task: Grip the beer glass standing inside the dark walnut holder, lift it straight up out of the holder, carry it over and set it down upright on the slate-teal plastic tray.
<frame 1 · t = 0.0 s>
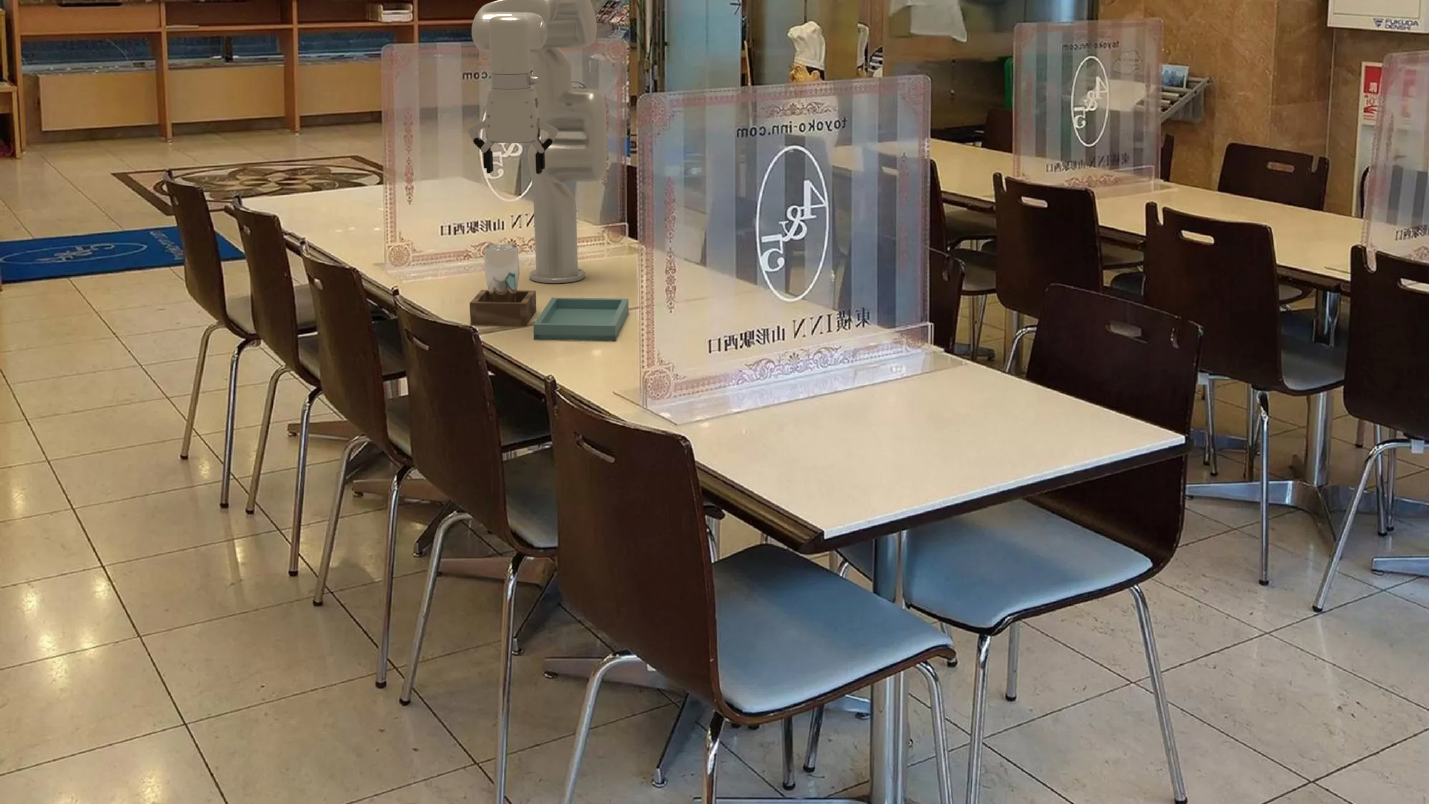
hand: (514, 172, 289), 31 cm above the table, tool pointing down, fingers open, 9 cm apart
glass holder: (504, 318, 306), on the table
tray: (582, 325, 301), on the table
beer glass: (504, 319, 306), resting in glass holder
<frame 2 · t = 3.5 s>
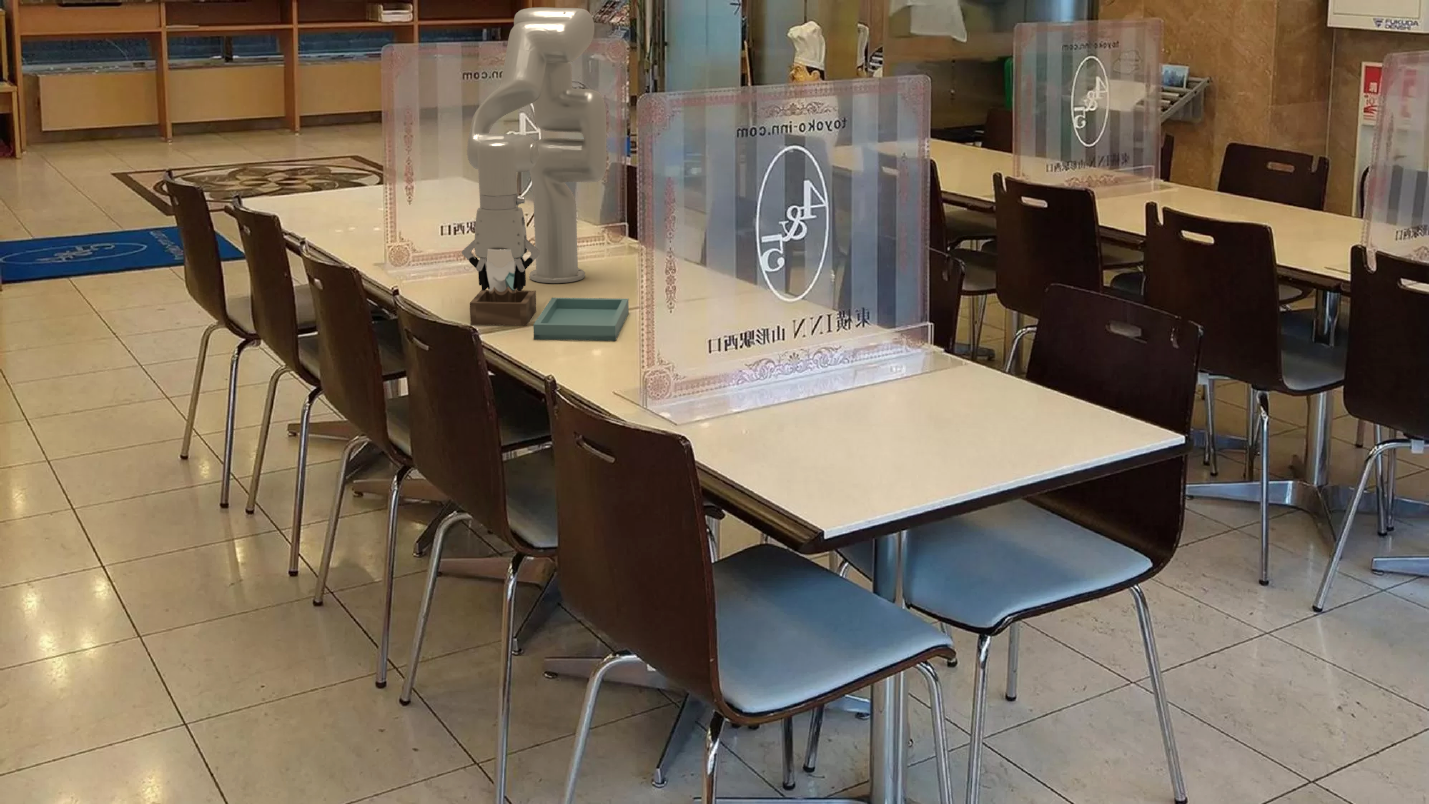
hand: (502, 288, 304), 6 cm above the table, tool pointing down, fingers closed on beer glass, 6 cm apart
beer glass: (504, 319, 306), resting in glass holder, touching gripper
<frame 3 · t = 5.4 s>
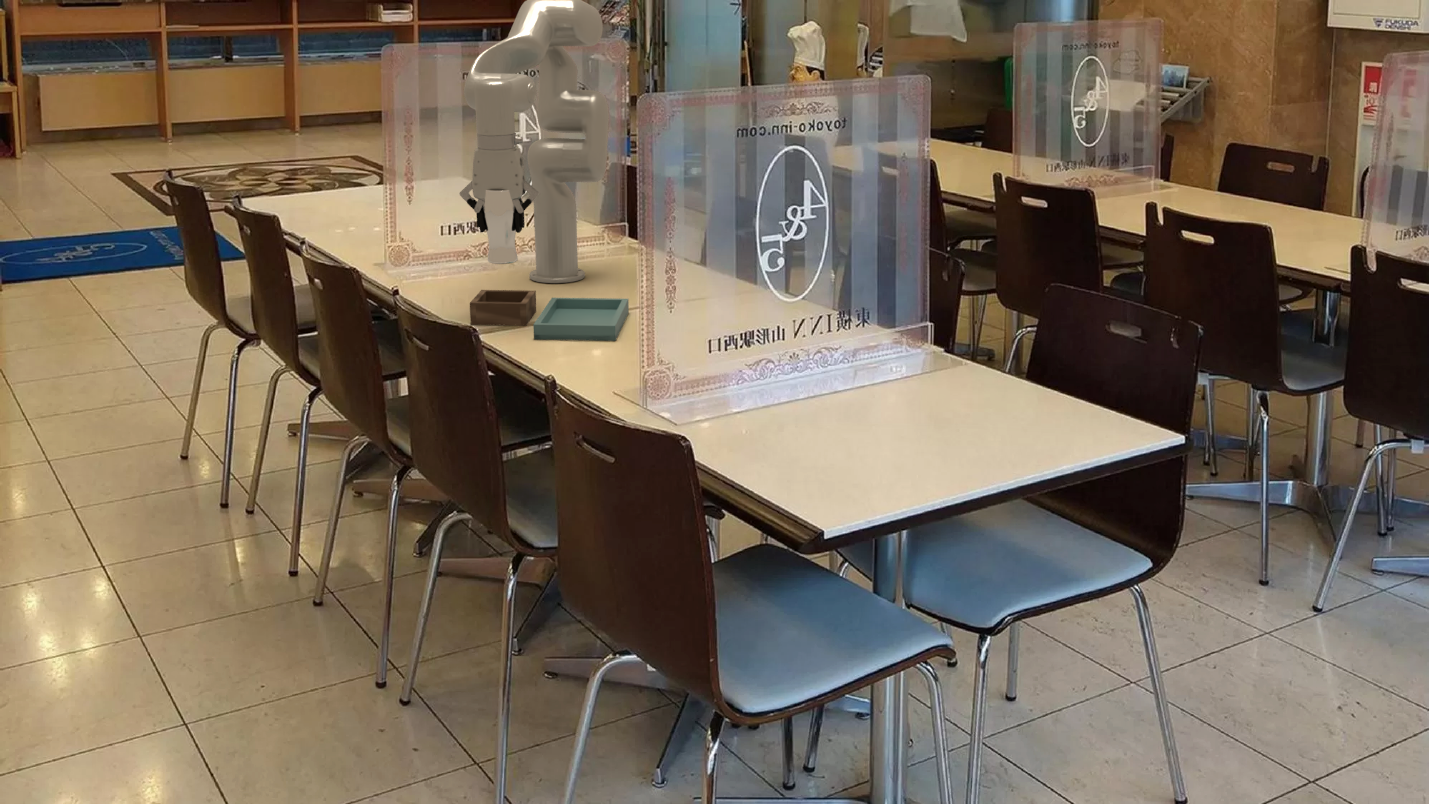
hand: (501, 230, 301), 18 cm above the table, tool pointing down, fingers closed on beer glass, 6 cm apart
beer glass: (502, 261, 303), point 12 cm above the table, touching gripper
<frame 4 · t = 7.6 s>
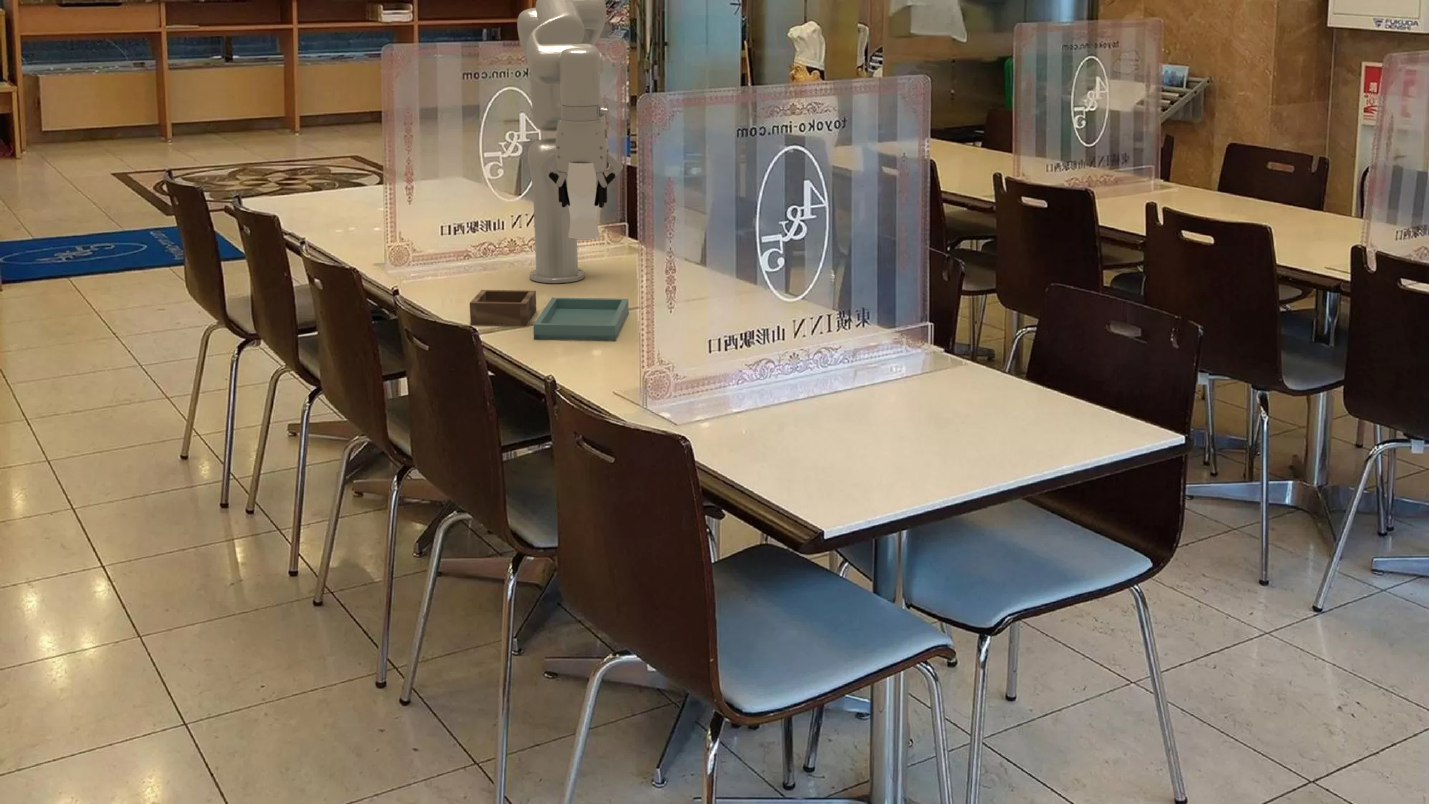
hand: (583, 205, 292), 25 cm above the table, tool pointing down, fingers closed on beer glass, 6 cm apart
beer glass: (583, 237, 294), point 18 cm above the table, touching gripper
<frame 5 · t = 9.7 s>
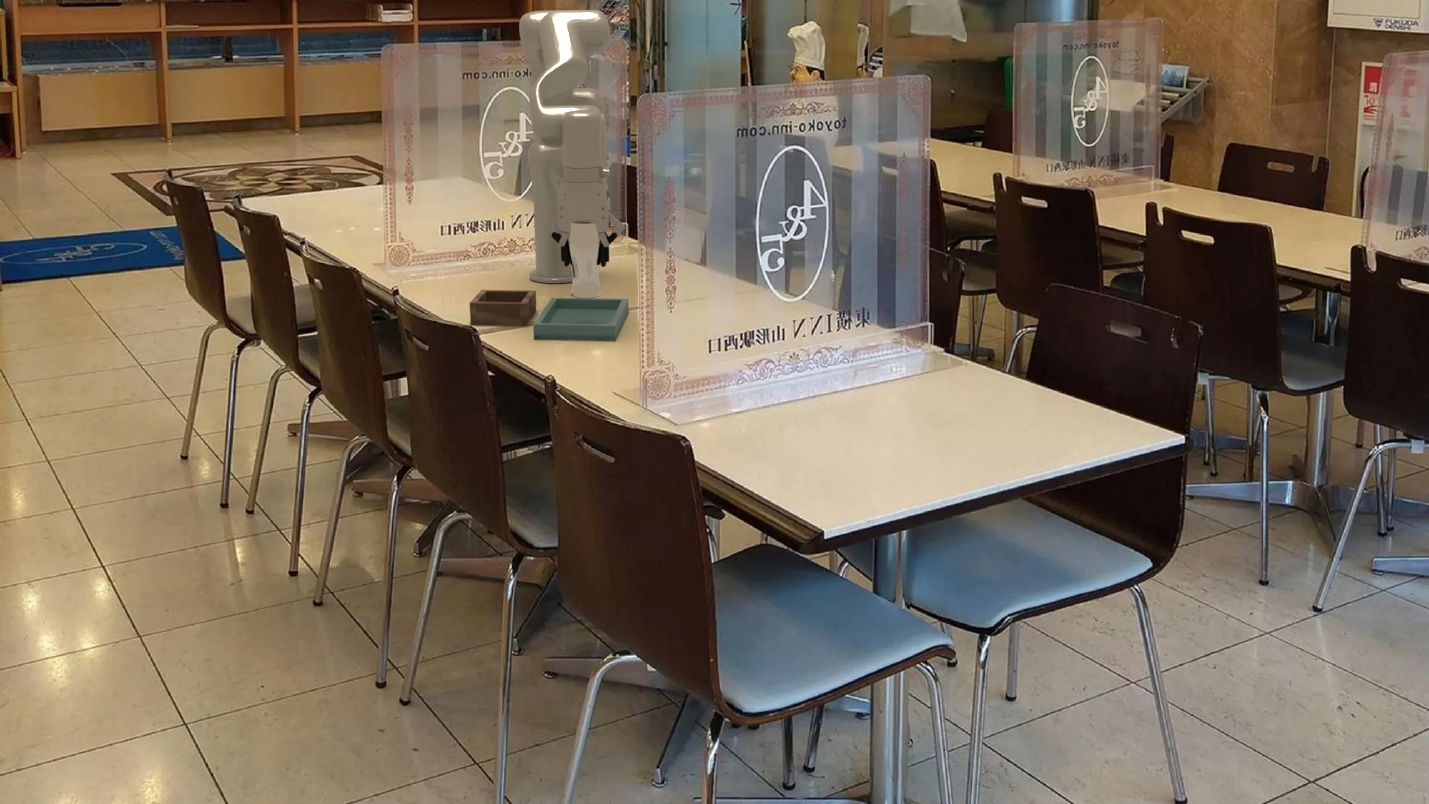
hand: (585, 264, 296), 13 cm above the table, tool pointing down, fingers closed on beer glass, 6 cm apart
beer glass: (586, 296, 298), point 6 cm above the table, touching gripper
when the fingers open (8 cm above the table, at t = 11.7 s): beer glass stays where it is, resting on tray.
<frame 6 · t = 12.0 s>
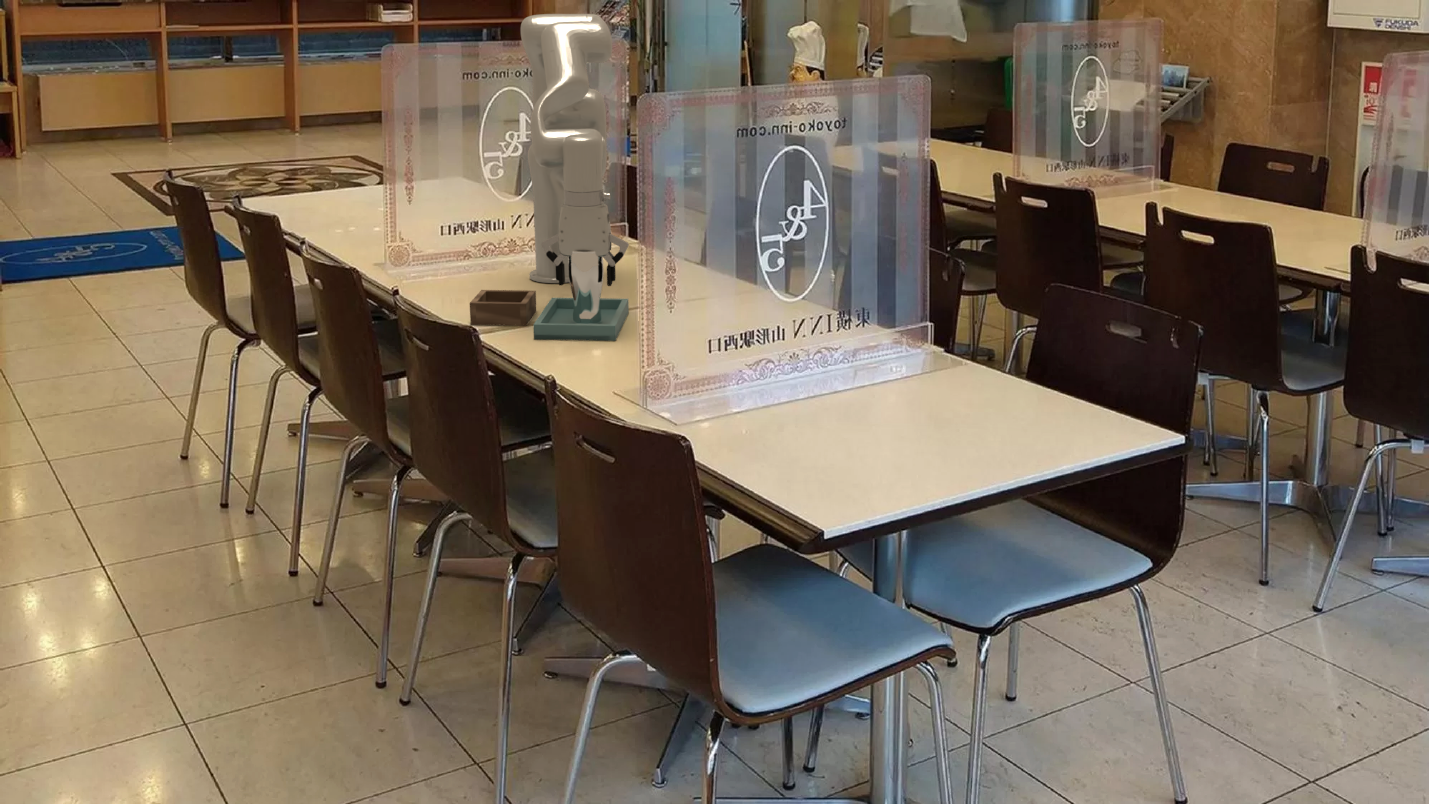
hand: (585, 284, 297), 9 cm above the table, tool pointing down, fingers open, 9 cm apart
beer glass: (587, 322, 300), point 1 cm above the table, touching tray
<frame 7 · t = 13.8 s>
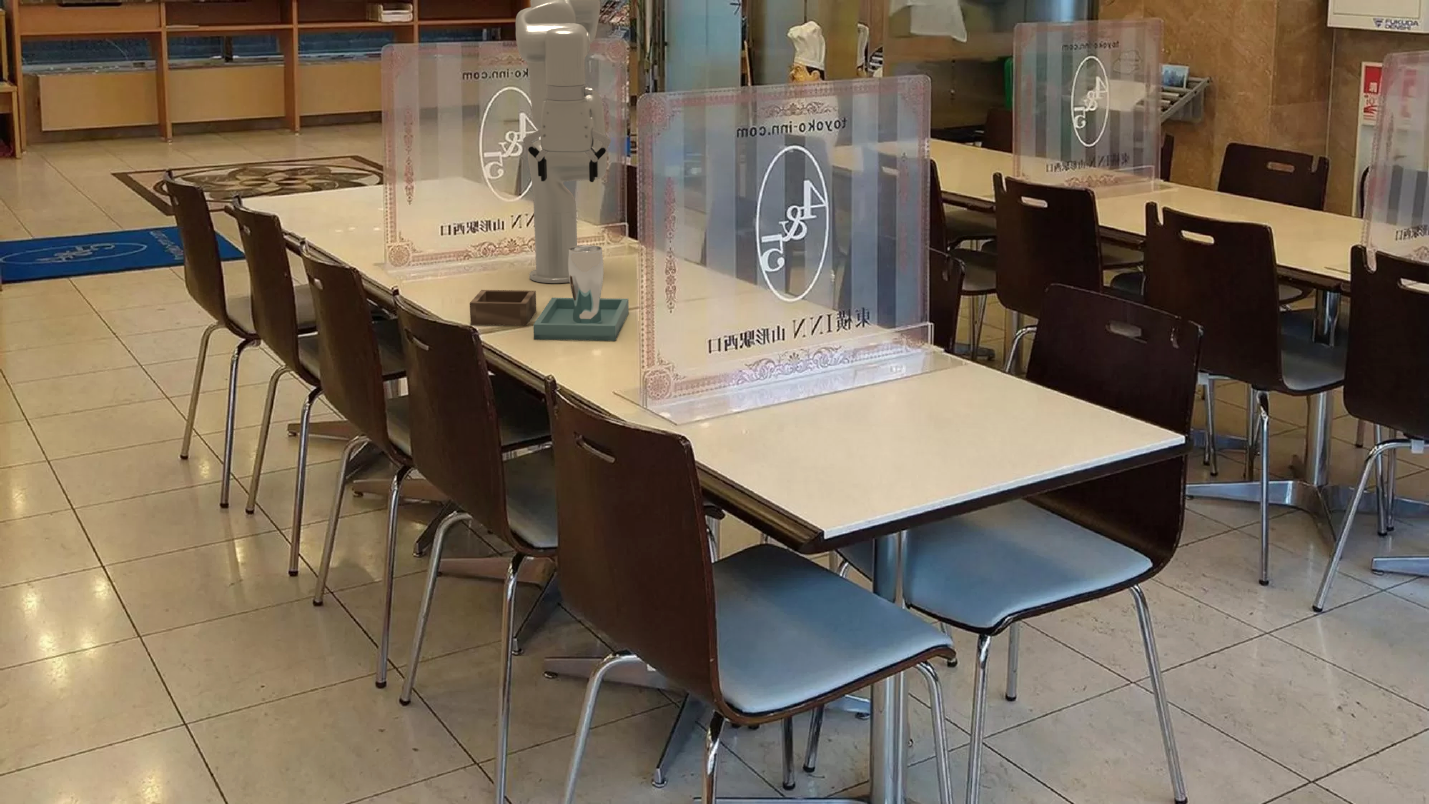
hand: (568, 180, 297), 28 cm above the table, tool pointing down, fingers open, 9 cm apart
nothing on the table moved.
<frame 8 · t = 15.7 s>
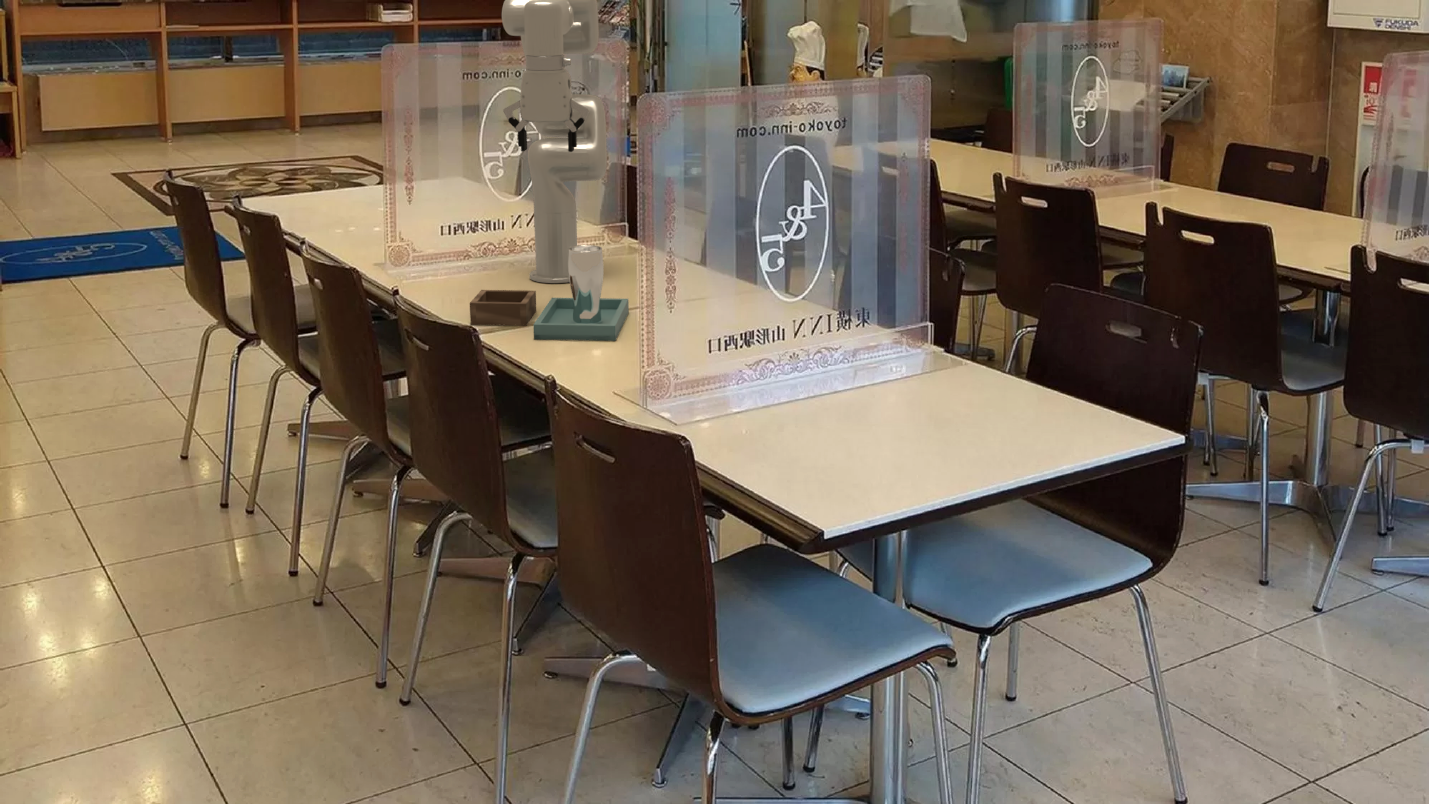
hand: (547, 150, 302), 33 cm above the table, tool pointing down, fingers open, 9 cm apart
nothing on the table moved.
at the end: beer glass inside the target area on the tray (1.3 cm from its centre), point 0.8 cm above the tray's base; beer glass tilted 0°; the gripper is holding nothing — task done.
